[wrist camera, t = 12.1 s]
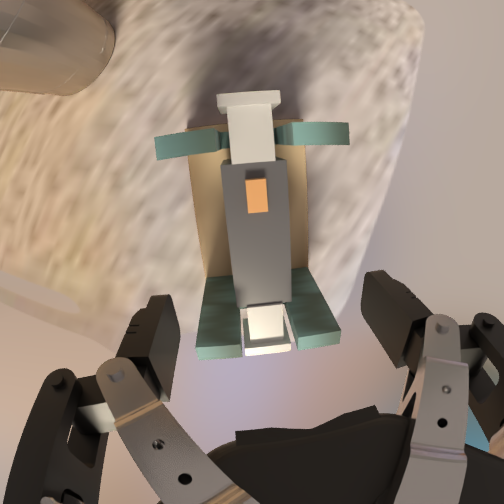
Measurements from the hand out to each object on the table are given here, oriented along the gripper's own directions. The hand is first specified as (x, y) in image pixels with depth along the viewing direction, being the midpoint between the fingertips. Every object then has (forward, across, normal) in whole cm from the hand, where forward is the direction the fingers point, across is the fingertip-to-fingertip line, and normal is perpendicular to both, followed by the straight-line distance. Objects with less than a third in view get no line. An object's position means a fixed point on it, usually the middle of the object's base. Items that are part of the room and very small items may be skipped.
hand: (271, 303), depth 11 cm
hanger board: (+15, 0, 0) cm, 16 cm away
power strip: (+13, 0, 0) cm, 13 cm away
